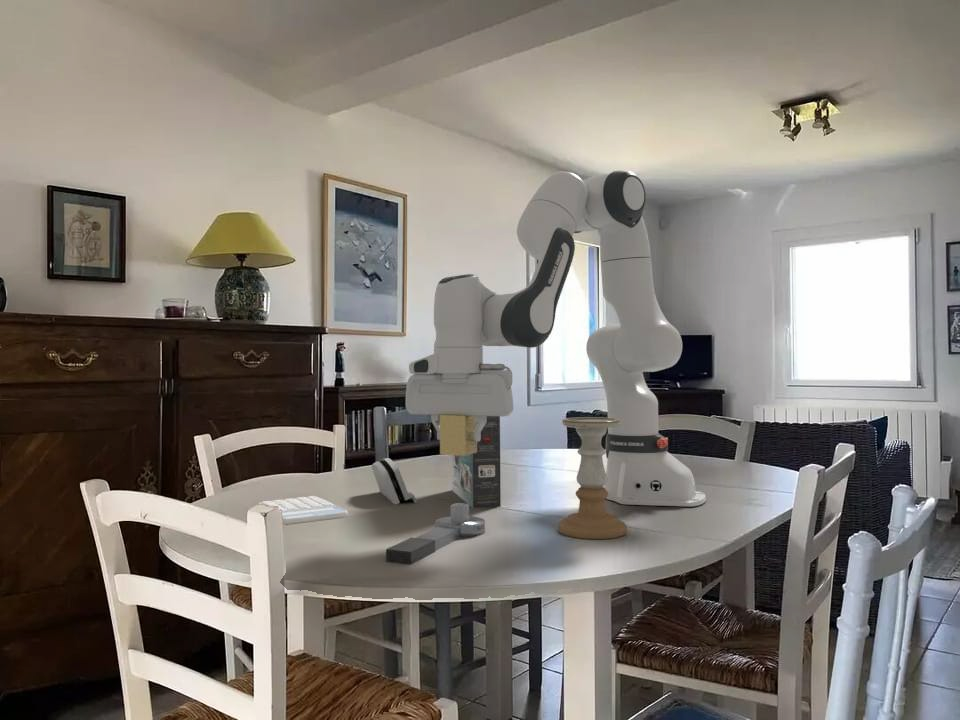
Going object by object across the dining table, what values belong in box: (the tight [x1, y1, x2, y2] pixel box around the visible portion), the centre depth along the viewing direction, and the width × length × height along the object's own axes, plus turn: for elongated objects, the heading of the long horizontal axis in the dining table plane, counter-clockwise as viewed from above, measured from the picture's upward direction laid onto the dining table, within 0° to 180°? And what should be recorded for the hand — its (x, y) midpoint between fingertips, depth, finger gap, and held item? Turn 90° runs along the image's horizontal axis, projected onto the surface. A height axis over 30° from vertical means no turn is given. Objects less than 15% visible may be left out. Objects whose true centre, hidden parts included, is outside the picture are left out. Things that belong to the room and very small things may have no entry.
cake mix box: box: [451, 373, 502, 509], centre depth 165 cm, size 22×6×30 cm, turn 14°
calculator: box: [257, 495, 349, 525], centre depth 151 cm, size 13×20×2 cm, turn 31°
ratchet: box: [385, 502, 486, 565], centre depth 124 cm, size 26×9×5 cm, turn 156°
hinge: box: [371, 457, 418, 505], centre depth 166 cm, size 17×5×10 cm, turn 19°
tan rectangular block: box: [439, 415, 477, 456], centre depth 132 cm, size 5×5×7 cm
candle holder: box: [557, 416, 628, 540], centre depth 132 cm, size 12×12×20 cm
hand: (458, 440), depth 132 cm, fingers closed on tan rectangular block, 5 cm apart
